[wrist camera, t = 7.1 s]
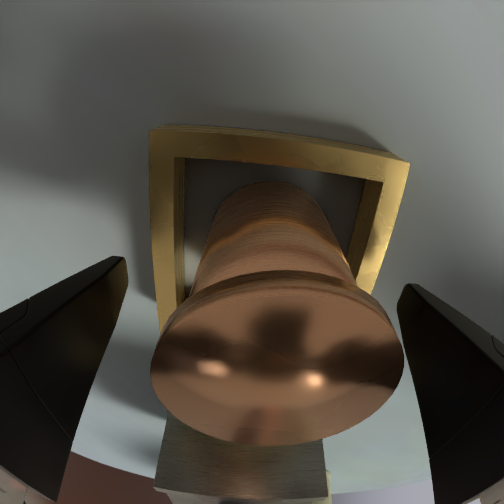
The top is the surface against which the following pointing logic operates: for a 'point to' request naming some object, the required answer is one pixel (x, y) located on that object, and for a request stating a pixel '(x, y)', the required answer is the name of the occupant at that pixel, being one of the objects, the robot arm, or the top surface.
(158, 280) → the socket
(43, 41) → the top surface
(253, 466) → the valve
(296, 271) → the stub
